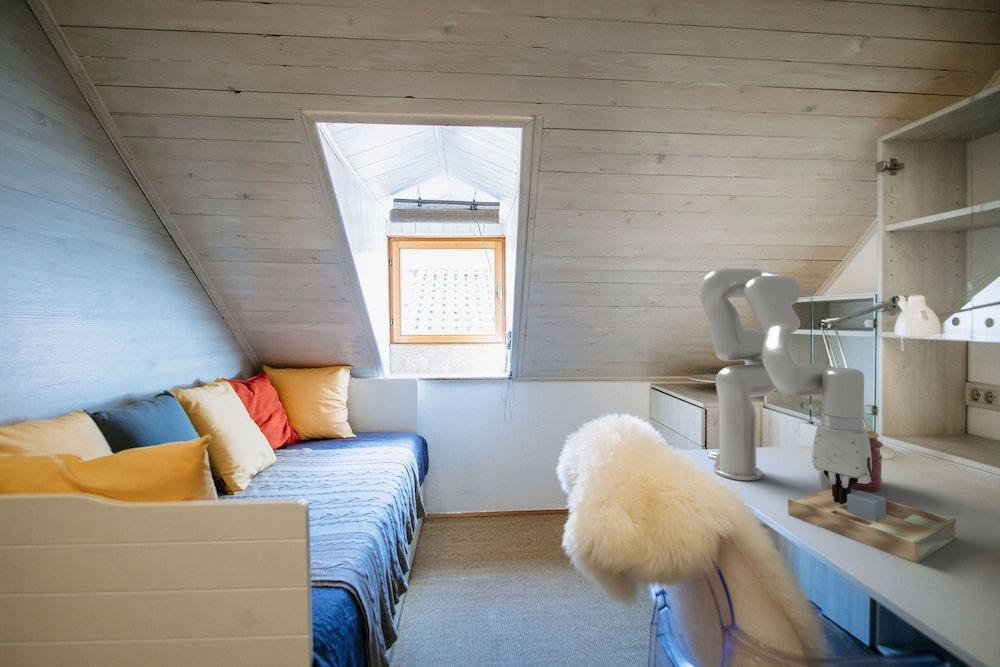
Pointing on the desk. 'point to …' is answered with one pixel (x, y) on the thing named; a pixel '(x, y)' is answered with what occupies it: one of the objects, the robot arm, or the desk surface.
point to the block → (866, 505)
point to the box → (879, 525)
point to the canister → (876, 464)
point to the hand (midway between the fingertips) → (841, 501)
